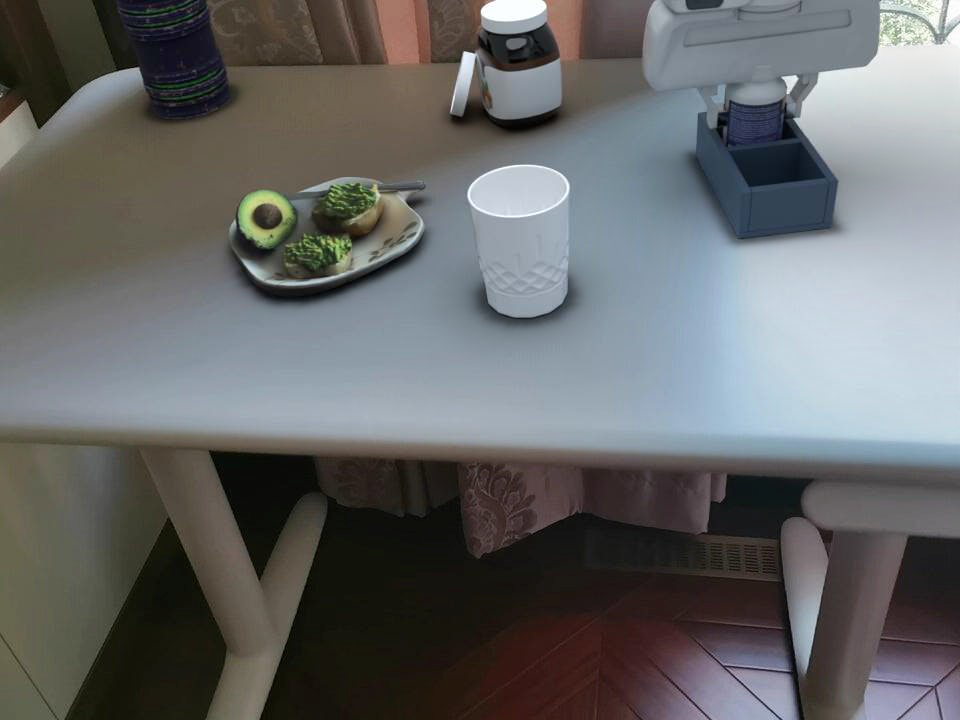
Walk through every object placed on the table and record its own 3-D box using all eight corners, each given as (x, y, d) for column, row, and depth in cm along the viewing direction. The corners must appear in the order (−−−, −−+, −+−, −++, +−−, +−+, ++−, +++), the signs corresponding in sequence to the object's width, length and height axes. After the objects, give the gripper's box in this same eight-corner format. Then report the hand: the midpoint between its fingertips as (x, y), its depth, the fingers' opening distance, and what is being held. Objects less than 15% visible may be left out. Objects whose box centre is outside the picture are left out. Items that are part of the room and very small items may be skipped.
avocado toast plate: (394, 166, 99) (387, 125, 96) (473, 242, 87) (468, 198, 84) (214, 227, 93) (201, 185, 90) (272, 319, 81) (258, 274, 78)
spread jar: (573, 121, 103) (569, 14, 95) (476, 149, 100) (464, 41, 93) (526, 82, 112) (519, -19, 104) (436, 107, 109) (422, 4, 102)
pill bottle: (789, 163, 89) (801, 63, 83) (734, 174, 88) (742, 74, 82) (764, 138, 93) (773, 40, 87) (711, 148, 93) (717, 51, 86)
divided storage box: (776, 145, 95) (781, 101, 92) (831, 227, 83) (839, 180, 80) (695, 155, 95) (697, 112, 92) (738, 239, 83) (742, 192, 80)
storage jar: (234, 110, 114) (189, -47, 102) (151, 126, 113) (96, -30, 101) (231, 78, 121) (190, -71, 110) (153, 92, 120) (103, -57, 109)
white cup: (525, 257, 84) (516, 154, 78) (593, 289, 80) (590, 183, 73) (460, 299, 80) (446, 195, 74) (528, 336, 76) (519, 228, 69)
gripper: (876, -60, 82) (852, 92, 91) (638, -30, 82) (637, 119, 91) (906, -36, 77) (878, 122, 86) (653, -5, 77) (651, 150, 86)
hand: (752, 121), depth 88 cm, fingers closed on pill bottle, 5 cm apart
